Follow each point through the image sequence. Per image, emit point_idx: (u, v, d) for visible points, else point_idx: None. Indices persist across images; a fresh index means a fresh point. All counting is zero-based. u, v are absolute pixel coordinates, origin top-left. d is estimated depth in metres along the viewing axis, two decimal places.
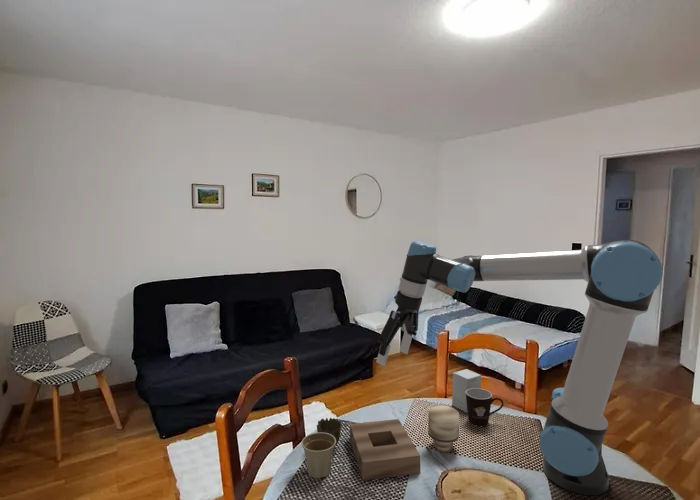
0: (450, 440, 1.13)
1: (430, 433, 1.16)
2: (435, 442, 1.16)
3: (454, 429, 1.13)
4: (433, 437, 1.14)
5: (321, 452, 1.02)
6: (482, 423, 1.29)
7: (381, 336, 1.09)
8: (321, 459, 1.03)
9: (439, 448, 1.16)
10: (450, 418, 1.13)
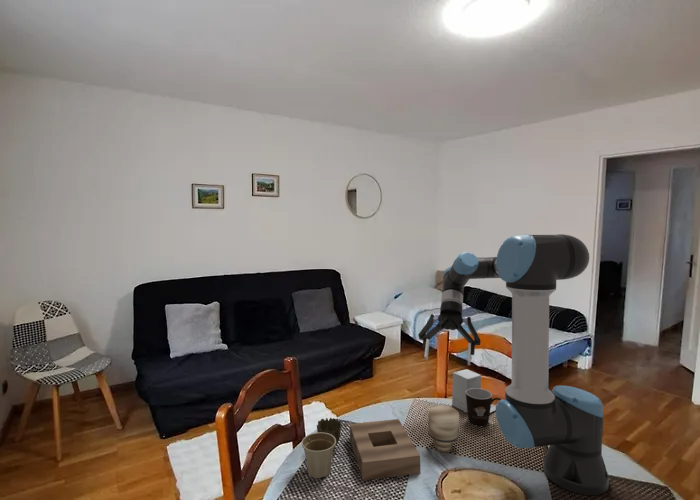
0: (450, 440, 1.13)
1: (430, 433, 1.16)
2: (435, 442, 1.16)
3: (454, 429, 1.13)
4: (433, 437, 1.14)
5: (321, 452, 1.02)
6: (482, 423, 1.29)
7: None
8: (321, 459, 1.03)
9: (439, 448, 1.16)
10: (450, 418, 1.13)
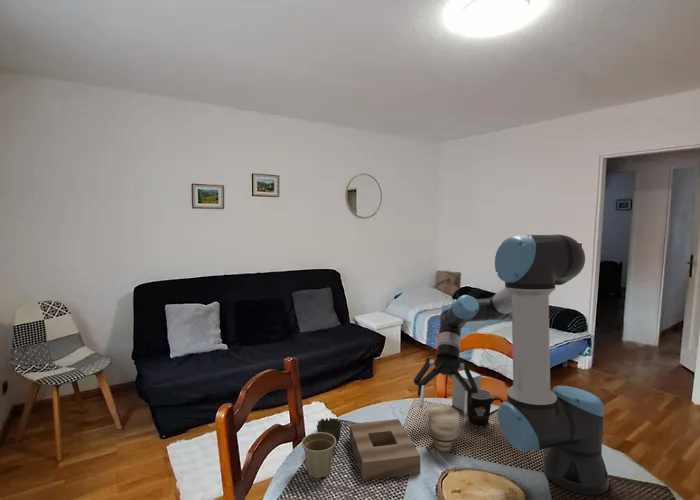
0: (450, 440, 1.13)
1: (430, 433, 1.16)
2: (435, 442, 1.16)
3: (454, 429, 1.13)
4: (433, 437, 1.14)
5: (321, 452, 1.02)
6: (482, 423, 1.29)
7: None
8: (321, 459, 1.03)
9: (439, 448, 1.16)
10: (450, 418, 1.13)
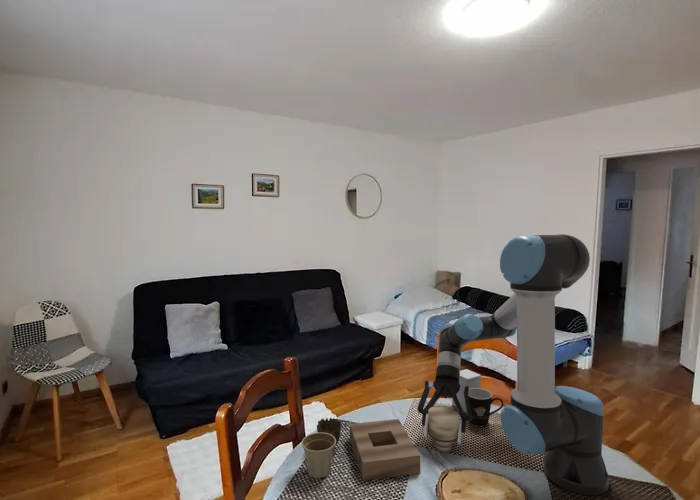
0: (450, 440, 1.13)
1: (430, 433, 1.16)
2: (435, 442, 1.16)
3: (454, 429, 1.13)
4: (433, 437, 1.14)
5: (321, 452, 1.02)
6: (482, 423, 1.29)
7: None
8: (321, 459, 1.03)
9: (439, 448, 1.16)
10: (449, 418, 1.13)
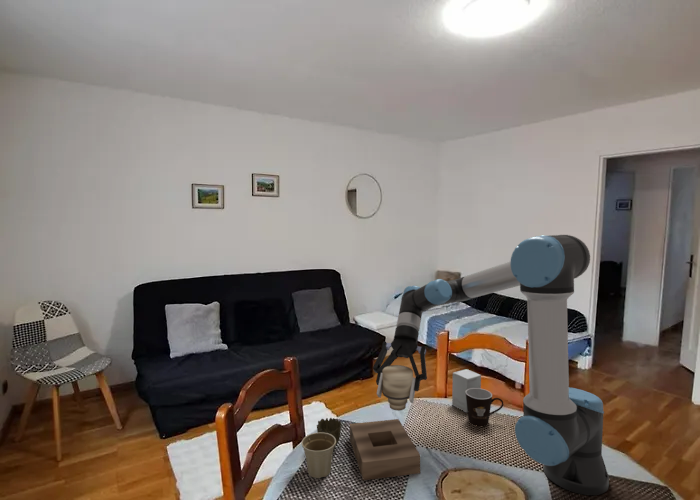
0: (402, 397, 1.11)
1: (383, 391, 1.14)
2: (389, 400, 1.15)
3: (407, 386, 1.12)
4: (386, 395, 1.13)
5: (321, 452, 1.02)
6: (482, 423, 1.29)
7: None
8: (321, 459, 1.03)
9: (392, 406, 1.14)
10: (402, 376, 1.11)
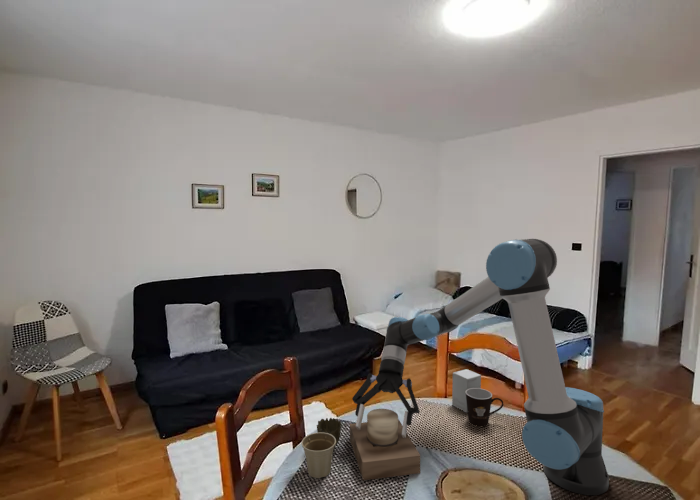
0: (387, 444, 1.09)
1: (368, 437, 1.12)
2: (373, 446, 1.13)
3: (392, 433, 1.10)
4: (370, 441, 1.11)
5: (321, 452, 1.02)
6: (482, 423, 1.29)
7: None
8: (321, 459, 1.03)
9: None
10: (387, 422, 1.10)
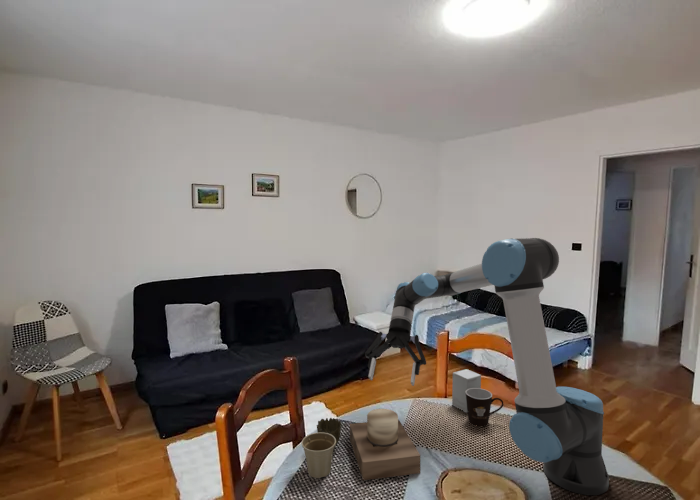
0: (387, 444, 1.09)
1: (368, 437, 1.12)
2: (373, 446, 1.13)
3: (392, 433, 1.10)
4: (370, 441, 1.11)
5: (321, 452, 1.02)
6: (482, 423, 1.29)
7: None
8: (321, 459, 1.03)
9: None
10: (387, 422, 1.10)
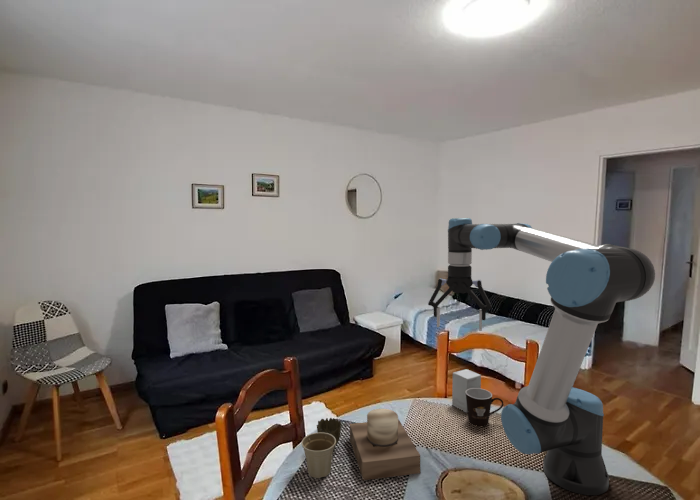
0: (387, 444, 1.09)
1: (368, 437, 1.12)
2: (373, 446, 1.13)
3: (392, 433, 1.10)
4: (370, 441, 1.11)
5: (321, 452, 1.02)
6: (482, 423, 1.29)
7: None
8: (321, 459, 1.03)
9: None
10: (387, 422, 1.10)
